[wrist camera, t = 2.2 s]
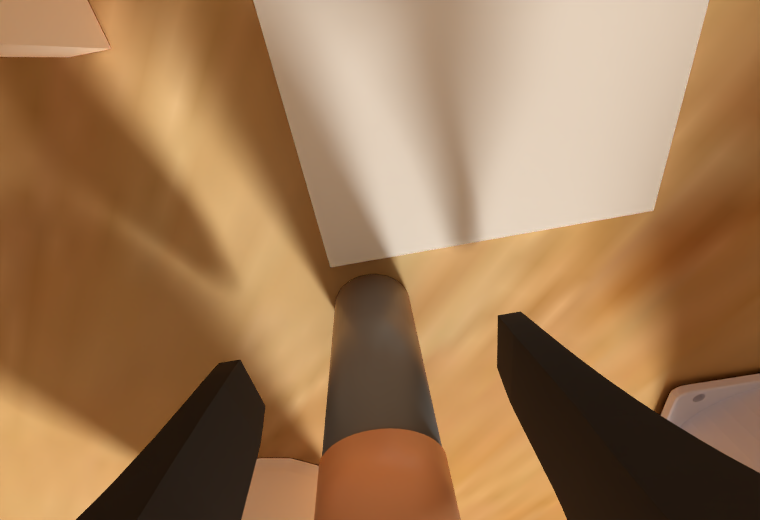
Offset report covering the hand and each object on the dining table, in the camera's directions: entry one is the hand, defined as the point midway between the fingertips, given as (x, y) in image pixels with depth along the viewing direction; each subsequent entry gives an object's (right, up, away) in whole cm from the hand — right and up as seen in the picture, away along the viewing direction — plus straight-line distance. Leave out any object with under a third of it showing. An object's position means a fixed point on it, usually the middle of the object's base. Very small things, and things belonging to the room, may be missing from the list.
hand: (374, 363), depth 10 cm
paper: (+3, +7, -1) cm, 8 cm away
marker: (0, +1, +2) cm, 3 cm away
